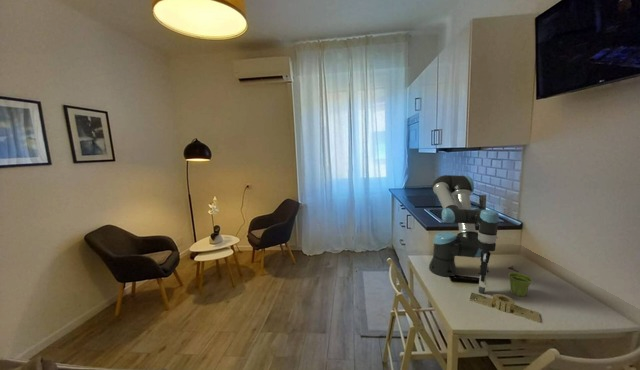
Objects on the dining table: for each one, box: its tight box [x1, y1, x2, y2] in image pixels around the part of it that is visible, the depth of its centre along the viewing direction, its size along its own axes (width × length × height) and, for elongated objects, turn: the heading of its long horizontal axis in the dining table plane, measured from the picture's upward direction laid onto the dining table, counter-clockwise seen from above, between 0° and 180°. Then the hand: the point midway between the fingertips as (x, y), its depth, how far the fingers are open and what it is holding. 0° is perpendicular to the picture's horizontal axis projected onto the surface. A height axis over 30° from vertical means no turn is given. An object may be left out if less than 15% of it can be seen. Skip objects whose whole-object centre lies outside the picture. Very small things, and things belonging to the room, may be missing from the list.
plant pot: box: [508, 272, 533, 297], centre depth 128 cm, size 9×9×9 cm
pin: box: [478, 264, 489, 295], centre depth 128 cm, size 4×4×14 cm
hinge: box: [469, 292, 541, 323], centre depth 117 cm, size 26×8×4 cm, turn 53°
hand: (482, 285), depth 128 cm, fingers closed on pin, 2 cm apart
